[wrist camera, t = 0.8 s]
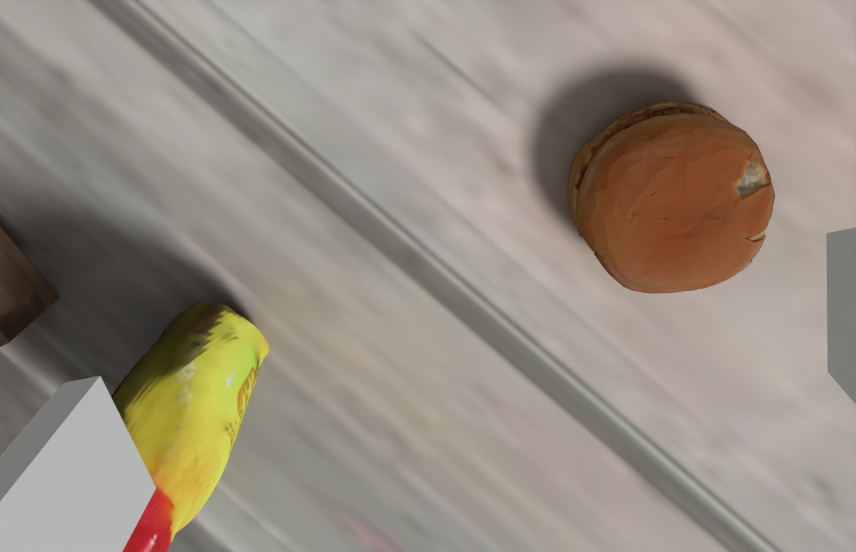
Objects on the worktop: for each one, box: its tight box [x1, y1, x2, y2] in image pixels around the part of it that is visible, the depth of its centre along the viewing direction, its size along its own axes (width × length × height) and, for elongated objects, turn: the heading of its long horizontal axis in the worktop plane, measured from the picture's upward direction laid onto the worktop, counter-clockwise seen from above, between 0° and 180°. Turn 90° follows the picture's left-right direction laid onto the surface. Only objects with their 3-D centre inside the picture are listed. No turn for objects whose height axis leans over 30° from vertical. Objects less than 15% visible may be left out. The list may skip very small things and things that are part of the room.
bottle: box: [111, 302, 270, 552], centre depth 35 cm, size 12×6×20 cm, turn 152°
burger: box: [568, 101, 775, 293], centre depth 37 cm, size 10×9×5 cm
